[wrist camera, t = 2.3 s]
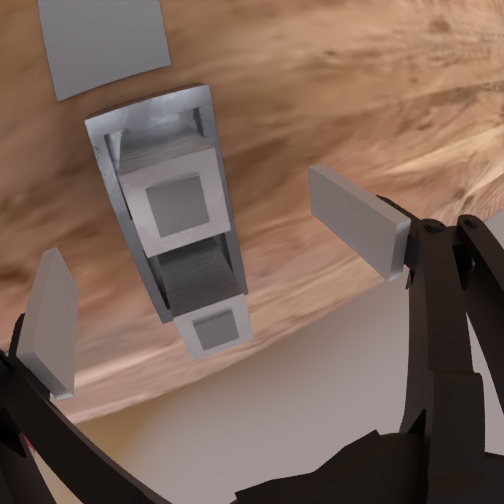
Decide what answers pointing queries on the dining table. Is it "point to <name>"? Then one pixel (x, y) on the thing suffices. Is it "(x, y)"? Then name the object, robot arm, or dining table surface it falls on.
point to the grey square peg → (172, 186)
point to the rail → (107, 155)
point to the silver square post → (204, 298)
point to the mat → (101, 41)
